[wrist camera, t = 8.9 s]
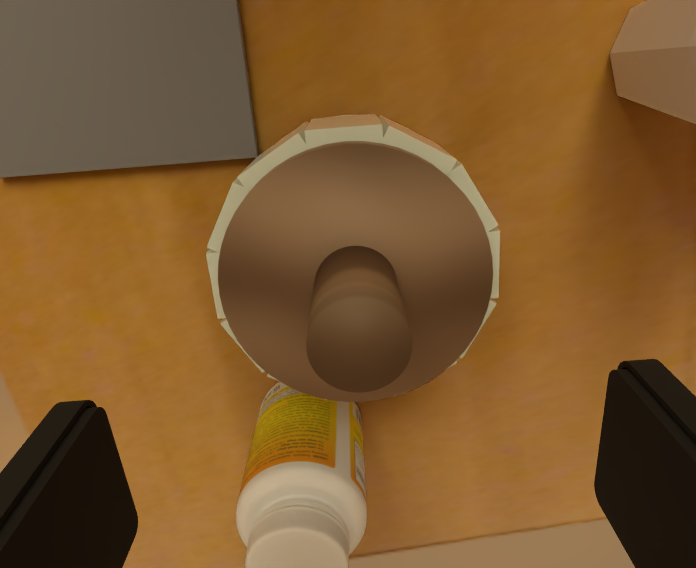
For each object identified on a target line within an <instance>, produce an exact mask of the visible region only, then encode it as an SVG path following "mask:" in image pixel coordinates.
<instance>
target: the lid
mask: <svg viewBox="0 0 696 568" xmlns="http://www.w3.org/2000/svg"><path fill="white" fill-rule="evenodd" d="M492 283H493V261H492V253H491V248H490V243H489V239H488V236H487V233H486V231H485V228H484V225H483V223H482V221H481V219H480V217H479V215H478V213H477V211H476V209H475V208H474V206H473V205H472V203H471V202H470V201H469V199H468V198H467V197H466V195H465V194H464V193H463V192H462V191H461V190H460V189H459V187H458V186H457V185H456V184H455V183H454V182H453V181H452V180H451V179H450V178H449V177H448V176H447V175H446V174H444V173H443V172H442V171H441V170H439V169H438V168H437V167H435V166H434V165H433V164H431V163H430V162H428V161H426V160H424V159H423V158H421V157H419V156H418V155H416V154H413V153H411V152H408V151H406V150H403V149H401V148H398V147H394V146H390V145H386V144H382V143H375V142H366V141H344V142H337V143H330V144H325V145H321V146H318V147H315V148H311V149H308V150H306V151H303V152H301V153H299V154H297V155H294V156H292V157H290V158H289V159H287V160H285V161H284V162H282V163H281V164H279V165H277V166H276V167H274V168H273V169H272V170H271V171H270V172H268V173H267V174H266V175H265V176H264V177H262V178H261V179H260V180H259V182H258V183H257V184H256V185H255V186H254V187H253V188H252V189H251V190H250V191H249V193H248V194H247V195H246V197H245V198H244V199H243V201H242V202H241V204H240V205H239V207H238V208H237V210H236V211H235V213H234V215H233V217H232V219H231V221H230V223H229V225H228V227H227V229H226V232H225V235H224V238H223V241H222V244H221V250H220V255H219V261H218V286H219V295H220V299H221V303H222V307H223V311H224V314H225V316H226V319H227V321H228V324H229V326H230V328H231V330H232V332H233V334H234V335H235V337H236V339H237V341H238V342H239V344H240V345H241V346H242V347H243V349H244V350H245V351H246V353H247V354H248V355H249V356H250V357H251V358H252V359H253V360H254V361H255V362H256V363H257V364H258V366H260V367H261V368H262V369H263V370H265V371H266V372H267V373H268V374H270V375H271V376H272V377H274V378H275V379H277V380H279V381H280V382H282V383H283V384H285V385H287V386H289V387H291V388H293V389H295V390H298V391H300V392H302V393H305V394H308V395H311V396H314V397H318V398H323V399H328V400H332V401H343V402H367V401H375V400H382V399H386V398H390V397H394V396H398V395H401V394H403V393H406V392H409V391H412V390H414V389H416V388H418V387H420V386H422V385H424V384H426V383H428V382H429V381H431V380H432V379H434V378H435V377H437V376H438V375H440V374H441V373H442V372H444V371H445V370H446V369H447V368H448V367H449V366H451V365H452V364H453V363H454V362H455V361H456V360H457V359H458V358H459V357H460V356H461V354H462V353H463V352H464V351H465V350H466V349H467V347H468V346H469V344H470V343H471V342H472V340H473V339H474V337H475V335H476V334H477V332H478V330H479V328H480V326H481V324H482V322H483V319H484V317H485V314H486V311H487V309H488V305H489V301H490V297H491V292H492Z"/></svg>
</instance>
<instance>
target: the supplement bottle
mask: <svg viewBox="0 0 696 568" xmlns="http://www.w3.org/2000/svg"><path fill="white" fill-rule="evenodd" d="M366 524H367V501H366V483H365V464H364V448H363V433H362V417H361V410H360V406H359V403H358V402H343V401H332V400H328V399H327V400H324V399H322V398H318V397H314V396H311V395H308V394H305V393H302V392H300V391H298V390H295V389H293V388H291V387H289V386H287V385H285V384H283V383H282V382H278V383H277V384H275V385H274V386H273V387H272V388H271V389H270V390H269V392H268V393H267V394H266V396H265V398H264V399H263V402H262V404H261V407H260V411H259V415H258V419H257V423H256V427H255V432H254V435H253V440H252V444H251V448H250V452H249V456H248V461H247V465H246V469H245V473H244V477H243V482H242V486H241V490H240V494H239V498H238V503H237V508H236V525H237V530H238V533H239V535H240V537H241V539H242V541H243V543H244V544H245V546H246V547H247V548H248V549H247V554H246V561H245V568H349V555H350V554H351V553H352V552H353V551H354V550H355V548H356V547H357V546H358V544H359V543H360V541H361V540H362V537H363V535H364V532H365V529H366Z"/></svg>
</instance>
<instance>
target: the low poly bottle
mask: <svg viewBox="0 0 696 568" xmlns="http://www.w3.org/2000/svg"><path fill="white" fill-rule="evenodd" d="M610 59H611V65H612V70H613V76H614V82H615V87H616V93H617V96H620V97H623V98H625V99H628V100H631V101H634V102H636V103H639V104H642V105H644V106H647V107H650V108H653V109H655V110H658V111H661V112H663V113H666V114H669V115H671V116H674V117H677V118H680V119H682V120H685V121H688V122H690V123H693V124H696V0H646V1H644V2H642V3H640V4H638V5H636V6H634V7H632V8H630V10H629V12H628V14H627V16H626V18H625V21H624V23H623V25H622V27H621V29H620V32H619V34H618V36H617V38H616V40H615V42H614V45H613V47H612V49H611V51H610Z"/></svg>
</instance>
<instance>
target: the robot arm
mask: <svg viewBox="0 0 696 568" xmlns="http://www.w3.org/2000/svg"><path fill="white" fill-rule="evenodd" d="M594 487H595V493H596V497H597V500H598V502H599V505H600V506H601V508H602V510H603V512H604V513H605V515H606V517H607V519H608V520H609V522H610V524H611V526H612V527H613V529H614V531H615V533H616V534H617V536H618V538H619V540H620V541H621V543H622V545H623V547H624V548H625V550H626V552H627V554H628V555H629V557H630V559H631V561H632V563H633V564H634V566H635V568H696V397H695V396H694V395H693V394H692V393H691V392H690V391H689V390H688V389H687V388H686V387H685V386H684V385H683V384H682V383H681V382H680V381H679V380H678V379H677V378H676V377H675V376H674V375H673V374H672V373H671V372H670V371H669V370H668V369H667V368H666V367H665V366H664V365H663V364H662V363H661V362H659V361H658V360H656V359H647V360H633V361H623V362H621V363H620V364H619V366H618V369H617V370H612V371H611V372H610V374H609V378H608V385H607V392H606V400H605V407H604V415H603V422H602V429H601V437H600V444H599V452H598V459H597V467H596V474H595V482H594ZM137 527H138V516H137V512H136V509H135V505H134V502H133V499H132V496H131V492H130V489H129V486H128V482H127V479H126V476H125V473H124V469H123V466H122V463H121V460H120V456H119V453H118V450H117V447H116V443H115V440H114V437H113V434H112V430H111V427H110V424H109V421H108V417H107V414H106V412H105V410H104V409H103V408H101V407H97V406H96V404H95V403H94V402H93V401H91V400H83V401H69V402H60V403H57V404H56V405H55V406H53V408H52V409H51V410H50V411H49V413H48V414H47V415H46V416H45V418H44V419H43V420H42V421H41V423H40V424H39V425H38V426H37V428H36V429H35V430H34V431H33V433H32V434H31V435H30V437H29V438H28V439H27V440H26V442H25V443H24V444H23V445H22V447H21V448H20V449H19V450H18V452H17V453H16V454H15V455H14V457H13V458H12V459H11V460H10V462H9V463H8V464H7V465H6V467H5V468H4V469H3V471H2V472H1V473H0V568H122V567H123V565H124V562H125V560H126V557H127V555H128V553H129V550H130V548H131V545H132V543H133V541H134V538H135V536H136V532H137Z"/></svg>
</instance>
